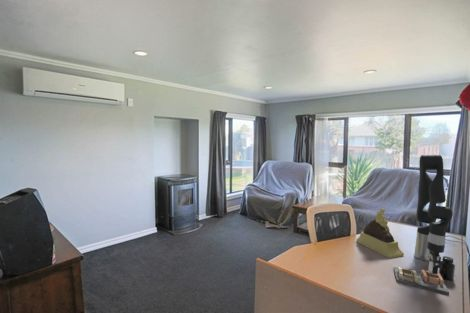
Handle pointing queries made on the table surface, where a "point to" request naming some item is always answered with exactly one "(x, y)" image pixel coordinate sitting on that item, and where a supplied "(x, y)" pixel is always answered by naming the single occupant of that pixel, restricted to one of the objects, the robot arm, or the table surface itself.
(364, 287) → the table surface
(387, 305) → the table surface
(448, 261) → the supplement bottle
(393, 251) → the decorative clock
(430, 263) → the peg
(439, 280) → the socket
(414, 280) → the mount board
